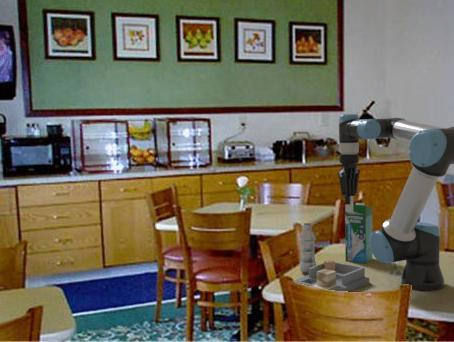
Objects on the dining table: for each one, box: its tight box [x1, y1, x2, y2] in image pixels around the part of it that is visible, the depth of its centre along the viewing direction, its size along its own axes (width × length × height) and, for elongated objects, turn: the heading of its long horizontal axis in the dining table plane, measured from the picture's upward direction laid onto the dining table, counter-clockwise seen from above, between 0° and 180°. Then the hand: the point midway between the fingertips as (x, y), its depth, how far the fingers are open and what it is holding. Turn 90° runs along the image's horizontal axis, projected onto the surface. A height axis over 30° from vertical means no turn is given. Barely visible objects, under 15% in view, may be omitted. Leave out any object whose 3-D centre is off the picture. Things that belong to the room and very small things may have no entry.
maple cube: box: [317, 269, 336, 288], centre depth 212 cm, size 5×5×5 cm
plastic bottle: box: [298, 222, 317, 274], centre depth 234 cm, size 6×7×20 cm
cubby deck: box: [293, 261, 370, 292], centre depth 218 cm, size 20×22×6 cm
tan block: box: [324, 260, 336, 271], centre depth 225 cm, size 4×4×5 cm
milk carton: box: [344, 202, 373, 264], centre depth 252 cm, size 9×9×25 cm
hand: (349, 212), depth 233 cm, fingers closed
